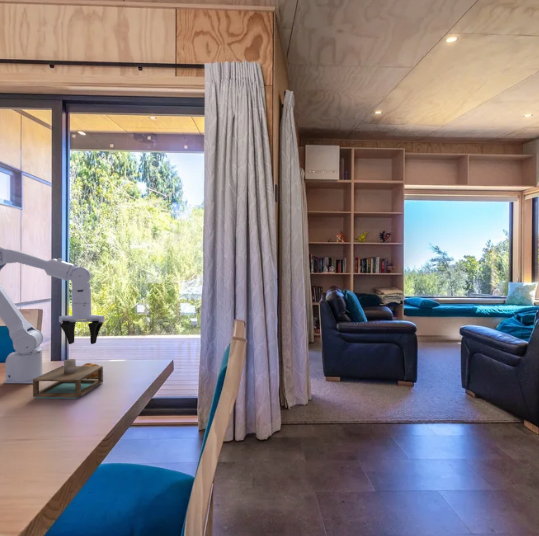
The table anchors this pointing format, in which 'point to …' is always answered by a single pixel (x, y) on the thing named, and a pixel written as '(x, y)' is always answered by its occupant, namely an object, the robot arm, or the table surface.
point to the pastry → (94, 375)
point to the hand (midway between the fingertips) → (82, 343)
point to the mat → (66, 390)
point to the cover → (68, 379)
